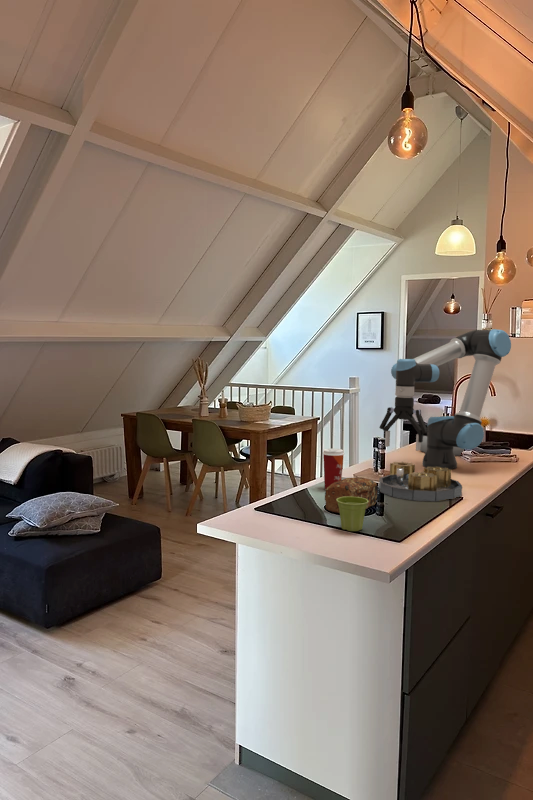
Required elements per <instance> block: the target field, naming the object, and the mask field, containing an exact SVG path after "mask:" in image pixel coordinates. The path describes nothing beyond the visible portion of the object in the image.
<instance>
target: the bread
mask: <svg viewBox="0 0 533 800" xmlns="http://www.w3.org/2000/svg"><path fill="white" fill-rule="evenodd" d="M340 497H361V498H365V499H367V500H368V501H369V502H368V503H367V506H366V508H365V510H367V509H368V508H370V507H372V506H375V504H376V503H377V498H378V484H377V483H376V481H374V480H373V479H369V478H365V477H359V476H355V477H346V478H344V479H342V480H340V481H338V482H334V483H333V484H331V485H330V486H329V487H327V489H325V492H324V501H325V510H328V511H329V512H333V513H338V514H340V511H339V506H338V502H337V501H336V499H337V498H340Z"/></svg>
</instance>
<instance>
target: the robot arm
mask: <svg viewBox="0 0 533 800" xmlns="http://www.w3.org/2000/svg"><path fill="white" fill-rule="evenodd" d="M511 348H512V340H511V338H510V336H509V334H508V333H507V332H506V331H505V330H503V329H495V328H493V329H473V330H470V331H467V332H465V333H462V334H460V335H458V336H456V337H453V338H451V339H450V341H449V342H447V343H446V344H443V345H441V346H438V347H436V348H435V349H432V350H430V351H427V352H425V353H423V354H421V355H418V356H417V357H414V358H399V359H397V361H396V363H394V364H393V365H392V367H391V370H390V373H391V377H392V378H393V379H394V380H395V393H394V395H395V396H396V397H395V398H394V407H392V406H391V407H387V410H386V414H385V415H384V417H383V419H382V421H381V424H380V425H379V429H380V430H383V439H385V440H384V447H386V448H387V447H390V443H391V430H390V428H392V426H394V424H395V423H396V422H397V421H398V420H404V421H407V420H408V421H409V423H410V424H411V425H412V426H413V428H414V429H415V431H416V432H417V434H415V435H416V436H415V438H416V439H415V451H420V444H421V442H422V441H423V436H424V434H426V436H427V450H426V452H424V455H423V458H422V464H421V465H422V466H423V467H424V468H427V467H436V466H437V467H442V468H448V469H451V470H453V469H457V467H458V461H457V459H456V456H455V454H454V451H453V447H459V448H461V449H464V450H474V449H475V448H477V447H479V446H480V445H481V443H482V441H484V440H483V439H484V437H485V432H484V428H483V426H482V423H483V422H482V420H481V417H480V416H481V414H482V411H483V407H484V405H485V404H484V403H485V400H486V398H487V397H486V396H487V394H488V391H489V388H490V384H491V381H492V378H493V375H494V371H495V368H496V366H497V365H499V364H501V361H502V358H504V357H506V356H507V355H509V353H510V352H511V350H512V349H511ZM471 356H472V357H473V358H474V364H473V367H472V371H471V373H470V377H469V379H468V380H469V381H468V384H467V386H466V390H465V392H464V395H463V396H464V397H463V400H462V403H461V406H460V409H459V411H458V412H457V413H454V415H443V416H441V415H440V416H430V417H429V418H428V420H427V425H426V423H425V421H424V418H423V417H422V416H423V415H422V410H421V409H414V403H415V402H414V400H415V398H414V396H415V383H434V382H436V381H438V380H439V377H440V369H439V366H442V365H443V364H447V363H449V362H451V361H453V360H455V359H462V358H465V357H471ZM393 413H394V414H395V415H393ZM392 415H393V417H392V418H391V416H392ZM413 415H415V417H416V418H415V417H414V416H413ZM390 418H391V419H390ZM415 419H417V421H418V422H417V421H416V420H415ZM389 420H390V421H389Z"/></svg>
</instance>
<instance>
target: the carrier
mask: <svg viewBox="0 0 533 800" xmlns="http://www.w3.org/2000/svg"><path fill="white" fill-rule="evenodd" d="M420 476H424V475H420ZM408 478H409V474H404V469H403V468H397V474H394V475H390V474H387V475H384V476H381V477H379V482H378V488H379V492H380V493H381V494H384V495H387V496H389V497H391V498H395V499H396V498H397V499H400V500H401V499H403V500H406V501H407V500H409V501H414V502H416V501H417V502H418V501H419V502H440V501H439V500H445V499H453V498H456V497H458V498H460V497H462V494H463V485H462V484H461V483H460V482H459V480H456V479H453V478H451V486H448V487H437V488H436V491H428V490H411V489H408ZM456 499H457V498H456Z"/></svg>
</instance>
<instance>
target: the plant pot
mask: <svg viewBox="0 0 533 800" xmlns="http://www.w3.org/2000/svg"><path fill="white" fill-rule="evenodd" d="M336 501H337V502H338V506H339V511H340V513H339V515H340V525H341V530H344V531H345V530H346V531H348V532H358V531H361V530H362V529H363V526H364V520H365V519H364V518H365V514H366V509H365V508H366V506H367V503H368V502H369V501H368V500H367V499H365V498H361V497H340V498H337V499H336Z"/></svg>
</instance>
